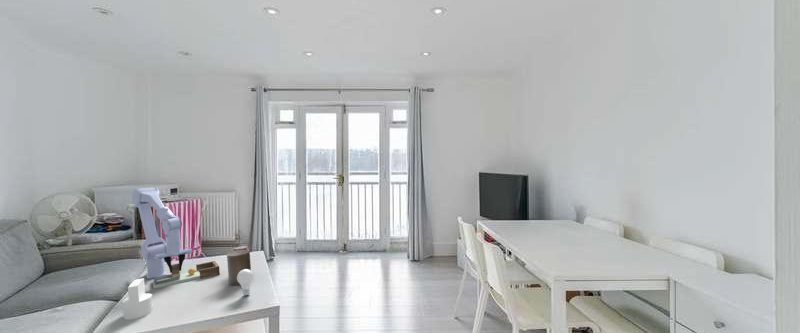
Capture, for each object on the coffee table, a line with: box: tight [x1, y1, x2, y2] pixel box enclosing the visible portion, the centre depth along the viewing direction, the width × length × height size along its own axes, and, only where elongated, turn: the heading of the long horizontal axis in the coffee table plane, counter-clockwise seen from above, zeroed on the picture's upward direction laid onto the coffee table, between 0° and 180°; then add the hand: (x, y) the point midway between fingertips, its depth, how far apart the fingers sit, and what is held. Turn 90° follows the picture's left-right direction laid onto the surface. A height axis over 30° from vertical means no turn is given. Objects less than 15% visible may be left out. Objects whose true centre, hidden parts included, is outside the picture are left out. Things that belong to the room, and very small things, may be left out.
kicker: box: [171, 262, 181, 278], centre depth 168 cm, size 5×3×6 cm, turn 38°
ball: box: [187, 267, 196, 275], centre depth 172 cm, size 3×3×3 cm
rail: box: [153, 273, 179, 285], centre depth 165 cm, size 8×10×1 cm
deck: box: [152, 270, 200, 289], centre depth 168 cm, size 10×19×1 cm, turn 128°
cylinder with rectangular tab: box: [121, 278, 154, 320], centre depth 133 cm, size 9×9×12 cm
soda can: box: [233, 244, 250, 251], centre depth 174 cm, size 7×7×13 cm
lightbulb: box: [237, 269, 255, 297], centre depth 146 cm, size 6×6×11 cm
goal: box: [195, 260, 220, 279], centre depth 176 cm, size 12×8×4 cm
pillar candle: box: [226, 249, 252, 286], centre depth 162 cm, size 10×10×15 cm
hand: (175, 271), depth 168 cm, fingers closed on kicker, 3 cm apart
